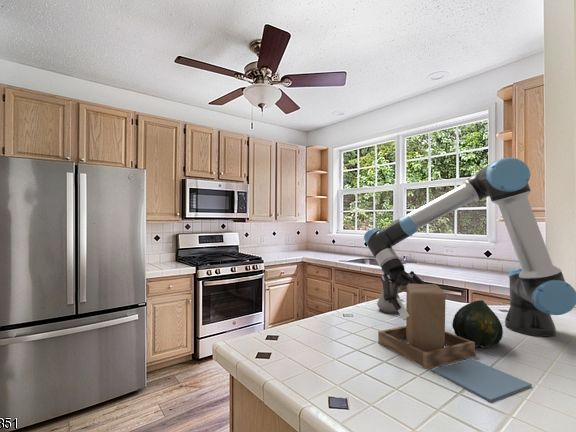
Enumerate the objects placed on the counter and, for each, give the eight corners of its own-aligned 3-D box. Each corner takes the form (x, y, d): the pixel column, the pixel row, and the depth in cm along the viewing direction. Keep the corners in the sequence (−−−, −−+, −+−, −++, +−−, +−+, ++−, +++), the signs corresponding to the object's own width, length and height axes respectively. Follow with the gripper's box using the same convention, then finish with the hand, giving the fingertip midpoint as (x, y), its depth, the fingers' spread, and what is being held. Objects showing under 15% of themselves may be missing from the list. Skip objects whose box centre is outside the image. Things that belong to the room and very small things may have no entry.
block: (445, 357, 94) (446, 293, 92) (410, 354, 96) (411, 292, 95) (437, 341, 104) (437, 283, 102) (405, 338, 106) (406, 282, 104)
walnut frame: (422, 333, 114) (422, 322, 114) (475, 355, 95) (474, 342, 95) (378, 343, 106) (378, 331, 106) (426, 368, 87) (426, 354, 87)
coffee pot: (371, 309, 146) (371, 277, 146) (390, 306, 151) (390, 275, 151) (406, 322, 127) (405, 285, 127) (426, 318, 131) (425, 283, 132)
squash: (448, 331, 101) (482, 298, 98) (440, 319, 115) (470, 290, 113) (486, 365, 97) (522, 332, 95) (474, 348, 111) (505, 319, 109)
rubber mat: (471, 360, 92) (471, 358, 92) (531, 386, 77) (531, 384, 77) (432, 371, 85) (432, 369, 85) (490, 402, 71) (490, 399, 71)
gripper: (410, 267, 122) (443, 316, 108) (357, 271, 112) (386, 326, 98) (420, 255, 117) (456, 305, 103) (367, 259, 107) (398, 314, 93)
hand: (422, 315), depth 100 cm, fingers closed on block, 13 cm apart
